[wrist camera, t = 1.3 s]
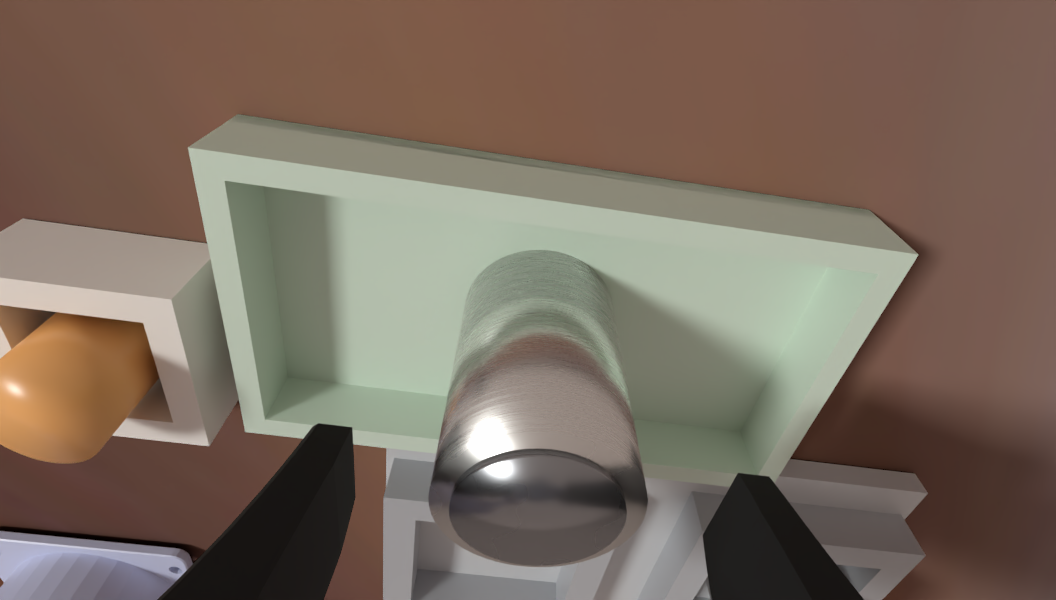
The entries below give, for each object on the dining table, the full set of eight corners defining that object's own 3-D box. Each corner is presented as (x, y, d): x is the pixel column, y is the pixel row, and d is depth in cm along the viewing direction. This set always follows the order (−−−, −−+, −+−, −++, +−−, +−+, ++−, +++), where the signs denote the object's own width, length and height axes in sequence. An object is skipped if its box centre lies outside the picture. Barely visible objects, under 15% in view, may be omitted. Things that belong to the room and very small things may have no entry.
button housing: (247, 383, 18) (209, 446, 16) (81, 363, 17) (19, 425, 15) (222, 245, 15) (171, 299, 13) (23, 218, 14) (-63, 269, 12)
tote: (746, 434, 18) (769, 491, 17) (275, 377, 17) (245, 432, 16) (869, 210, 14) (918, 254, 12) (238, 114, 13) (188, 147, 11)
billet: (594, 377, 16) (619, 585, 11) (459, 360, 16) (421, 566, 11) (629, 261, 14) (678, 456, 9) (472, 239, 14) (432, 428, 9)
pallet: (794, 616, 25) (815, 673, 23) (389, 576, 24) (376, 633, 22) (914, 473, 19) (955, 534, 18) (392, 411, 18) (374, 470, 16)
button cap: (183, 382, 16) (117, 469, 13) (79, 369, 16) (-7, 456, 13) (161, 302, 14) (80, 383, 12) (45, 287, 14) (-60, 367, 12)
